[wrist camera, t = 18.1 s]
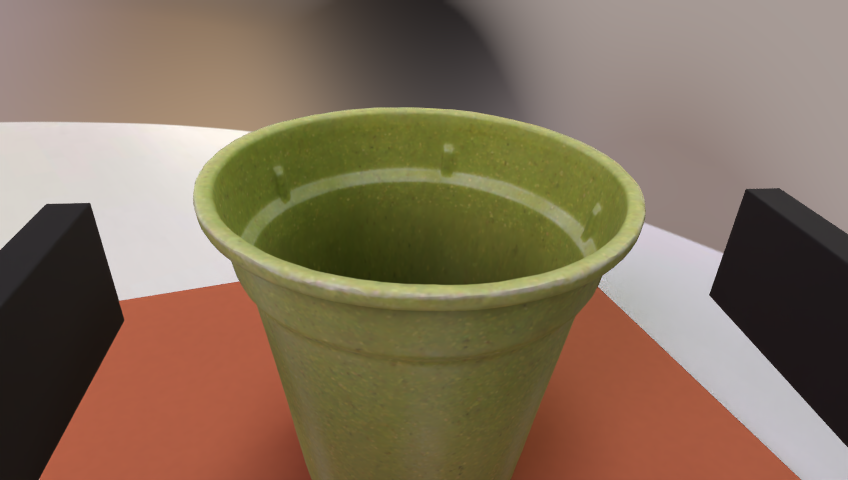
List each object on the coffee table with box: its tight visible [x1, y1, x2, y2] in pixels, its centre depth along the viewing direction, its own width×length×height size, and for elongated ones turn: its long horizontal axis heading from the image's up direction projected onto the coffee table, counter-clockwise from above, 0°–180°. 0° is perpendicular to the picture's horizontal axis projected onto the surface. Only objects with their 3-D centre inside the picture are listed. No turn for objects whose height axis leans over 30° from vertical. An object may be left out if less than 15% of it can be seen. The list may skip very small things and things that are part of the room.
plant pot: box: [193, 108, 646, 480], centre depth 15 cm, size 9×9×9 cm
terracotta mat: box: [40, 282, 801, 480], centre depth 17 cm, size 20×20×1 cm
